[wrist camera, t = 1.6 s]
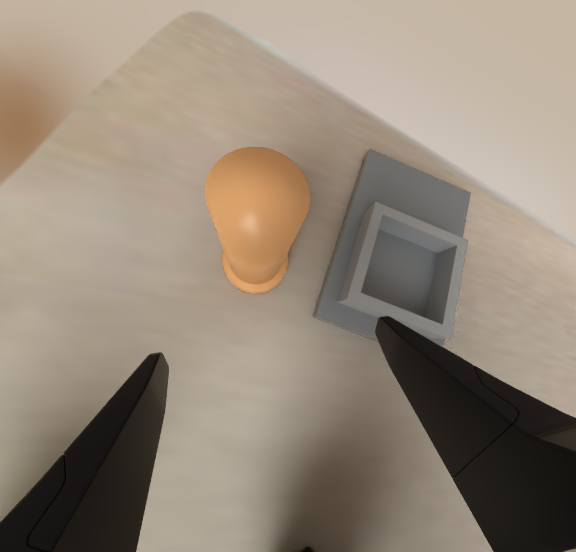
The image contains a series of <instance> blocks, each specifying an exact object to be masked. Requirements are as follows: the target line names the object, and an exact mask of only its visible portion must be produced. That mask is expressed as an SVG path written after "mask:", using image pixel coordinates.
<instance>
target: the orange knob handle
mask: <svg viewBox="0 0 576 552" xmlns="http://www.w3.org/2000/svg"><path fill="white" fill-rule="evenodd" d="M205 197H206V203H207V206H208V209H209V212H210V214H211V217H212V220H213V222H214V225H215V228H216V230H217V233H218V236H219V238H220V241H221V244H222V246H223V253H222V265H223V269H224V271H225V273H226V275H227V277H228V279H229V281H230V282H231V283H232V284H233V285H234V286H235V287H236V288H237V289H239V290H241V291H243V292H245V293H249V294H261V293H265V292H268V291H270V290H272V289H273V288H274V287H276V286H277V285H278V284H279V282H280V281H281V280H282V278H283V276H284V275H285V273H286V270H287V267H288V252H289V250H290V248H291V246H292V244H293V242H294V240H295V238H296V236H297V234H298V232H299V230H300V228H301V226H302V224H303V222H304V220H305V218H306V215H307V213H308V210H309V206H310V189H309V185H308V182H307V179H306V177H305V175H304V174H303V172H302V171H301V169H300V168H299V167H298V166H297V165H296V164H295V163H294V162H293V161H292V160H291V159H289V158H288V157H287V156H285V155H283V154H281V153H279V152H277V151H274V150H271V149H267V148H262V147H247V148H242V149H238V150H235V151H233V152H230V153H229V154H227V155H225V156H224V157H222V158H221V159H220V160H219V161H218V162H217V163H216V164H215V165H214V166H213V168H212V169H211V171H210V173H209V175H208V178H207V181H206V186H205Z"/></svg>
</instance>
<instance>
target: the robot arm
mask: <svg viewBox="0 0 576 552" xmlns="http://www.w3.org/2000/svg"><path fill="white" fill-rule="evenodd" d="M375 334H376V337H377V339H378V341H379V344H380V346H381V348H382V351H383V353H384V355H385V358H386V360H387V362H388V364H389V366H390V368H391V370H392V372H393V374H394V375H395V377H396V379H397V381H398V382H399V384H400V386H401V388H402V390H403V391H404V393H405V395H406V397H407V398H408V400H409V402H410V404H411V406H412V407H413V409H414V411H415V413H416V414H417V416H418V418H419V420H420V422H421V423H422V425H423V427H424V429H425V430H426V432H427V434H428V436H429V438H430V439H431V441H432V443H433V445H434V446H435V448H436V450H437V452H438V453H439V455H440V457H441V459H442V461H443V462H444V464H445V466H446V468H447V469H448V471H449V473H450V475H451V477H452V478H453V480H454V482H455V484H456V486H457V488H458V489H459V491H460V493H461V495H462V496H463V498H464V500H465V502H466V503H467V505H468V507H469V509H470V511H471V512H472V514H473V516H474V518H475V519H476V521H477V523H478V525H479V527H480V528H481V530H482V532H483V534H484V535H485V537H486V539H487V541H488V543H489V544H490V546H491V548H492V550H493V551H494V552H576V418H575V417H572V416H570V415H568V414H565V413H563V412H561V411H559V410H557V409H555V408H553V407H551V406H549V405H547V404H545V403H543V402H542V401H540V400H538V399H536V398H534V397H532V396H530V395H528V394H526V393H524V392H522V391H520V390H518V389H516V388H514V387H512V386H510V385H508V384H507V383H505V382H503V381H501V380H499V379H497V378H495V377H494V376H492V375H490V374H488V373H487V372H485V371H483V370H481V369H480V368H478V367H476V366H473V365H472V364H471V363H469V362H467V361H466V360H464V359H462V358H461V357H459V356H457V355H455V354H454V353H452V352H450V351H448V350H447V349H445V348H443V347H442V346H440V345H438V344H436V343H435V342H433V341H431V340H430V339H428V338H426V337H424V336H423V335H421V334H419V333H417V332H416V331H414V330H412V329H411V328H409V327H407V326H405V325H404V324H402V323H400V322H398V321H397V320H395V319H393V318H392V317H390V316H382V317H379V318H378V321H377V325H376V328H375ZM168 375H169V367H168V364H167V362H166V359H165V357H164V355H163V353H161V352H159V353H153V354H150V355H148V356H147V358H146V359H145V360H144V361H143V362H142V363H141V364H140V366H139V367H138V368H137V369H136V370H135V371H134V373H133V374H132V375H131V376H130V377H129V378H128V379H127V381H126V382H125V383H124V384H123V385H122V386H121V387H120V389H119V390H118V391H117V392H116V393H115V394H114V396H113V397H112V398H111V399H110V400H109V401H108V402H107V404H106V405H105V406H104V407H103V408H102V409H101V411H100V412H99V413H98V414H97V415H96V416H95V417H94V419H93V420H92V421H91V422H90V423H89V424H88V425H87V427H86V428H85V429H84V430H83V431H82V432H81V434H80V435H79V436H78V437H77V438H76V439H75V440H74V442H73V443H72V444H71V445H70V446H69V447H68V449H67V450H66V451H65V452H64V455H61V456H60V458H59V459H58V460H57V461H56V462H55V463H54V464H53V466H52V467H51V468H50V469H49V470H48V471H47V472H46V474H45V475H44V476H43V477H42V478H41V479H40V480H39V481H38V482H37V484H36V485H35V486H34V487H33V488H32V489H31V490H30V491H29V492H28V493H27V495H26V496H25V497H24V498H23V499H22V500H21V501H20V502H19V503H18V504H17V505H16V506H15V507H14V508H13V509H12V510H11V511H10V512H9V514H8V515H7V516H6V517H5V518H4V519H3V520H2V521H1V522H0V552H136V550H137V545H138V540H139V535H140V530H141V526H142V521H143V516H144V511H145V506H146V501H147V497H148V492H149V487H150V482H151V477H152V473H153V468H154V463H155V458H156V453H157V448H158V444H159V439H160V434H161V429H162V424H163V420H164V414H165V407H166V397H167V386H168ZM302 552H314V550H313V549H312V548H310V547H307V548H305V549H304V550H303V551H302Z"/></svg>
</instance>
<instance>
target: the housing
mask: <svg viewBox="0 0 576 552" xmlns="http://www.w3.org/2000/svg"><path fill="white" fill-rule="evenodd" d="M470 194H471V193H470V192H468V191H465V190H463V189H461V188H458V187H456V186H454V185H452V184H449V183H447V182H445V181H442V180H440V179H438V178H436V177H433V176H431V175H429V174H426V173H424V172H422V171H419V170H417V169H415V168H413V167H410V166H408V165H406V164H403V163H401V162H399V161H396V160H394V159H392V158H390V157H387V156H385V155H383V154H380V153H378V152H376V151H374V150H371V149H370V150H369V151H368V153H367V154H366V156H365V158H364V161H363V164H362V167H361V170H360V173H359V177H358V180H357V183H356V186H355V189H354V192H353V195H352V198H351V201H350V204H349V207H348V210H347V213H346V216H345V220H344V223H343V226H342V229H341V232H340V235H339V238H338V241H337V244H336V247H335V250H334V253H333V256H332V259H331V263H330V266H329V269H328V272H327V275H326V278H325V281H324V284H323V287H322V290H321V293H320V296H319V299H318V302H317V305H316V309H315V312H314V315H313V317H314V318H317V319H319V320H322V321H325V322H327V323H330V324H333V325H335V326H338V327H341V328H343V329H346V330H348V331H351V332H354V333H356V334H359V335H362V336H364V337H367V338H370V339H372V340H375V341H378V339H377V337H376V334H375V328H376V325H377V321H378V318H379V317H382V316H390V317H392V318H393V319H395V320H397V321H398V322H400V323H402V324H404V325H405V326H407V327H409V328H411V329H412V330H414V331H416V332H417V333H419V334H421V335H423V336H424V337H426V338H428V339H430V340H431V341H433V342H435V343H436V344H438V345H440V346H442V347H443V344H444V339H451V335H452V329H453V323H454V318H455V312H456V306H457V300H458V295H459V289H460V283H461V277H462V271H463V266H464V260H465V254H466V248H467V243H468V240H466V239H464V238H463V233H464V227H465V222H466V216H467V210H468V205H469V199H470ZM378 342H379V341H378Z"/></svg>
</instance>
